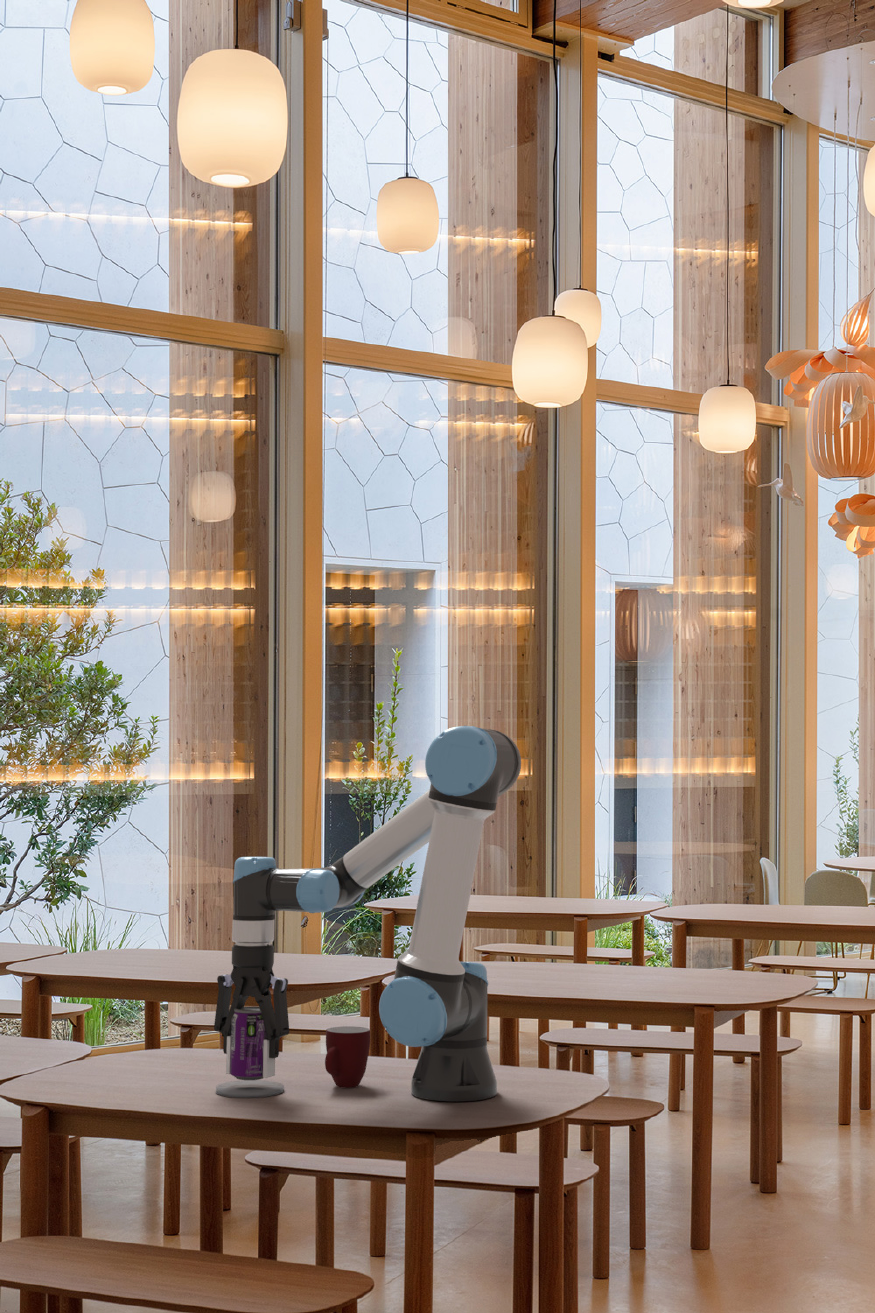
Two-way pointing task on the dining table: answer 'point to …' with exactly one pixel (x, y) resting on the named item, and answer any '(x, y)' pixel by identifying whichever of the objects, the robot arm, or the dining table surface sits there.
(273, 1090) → the coaster
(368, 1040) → the mug
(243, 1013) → the beverage can
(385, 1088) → the dining table surface
